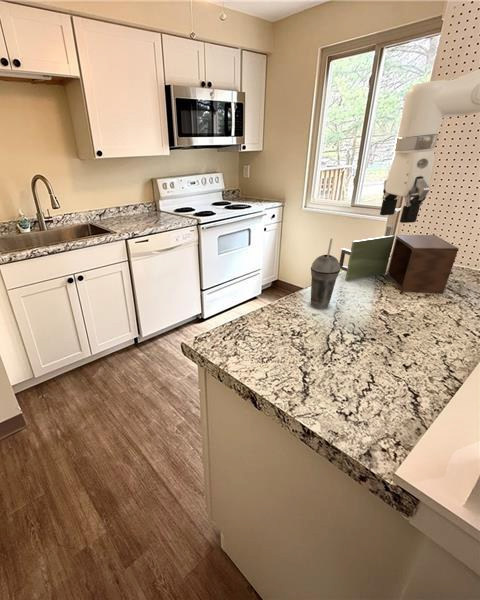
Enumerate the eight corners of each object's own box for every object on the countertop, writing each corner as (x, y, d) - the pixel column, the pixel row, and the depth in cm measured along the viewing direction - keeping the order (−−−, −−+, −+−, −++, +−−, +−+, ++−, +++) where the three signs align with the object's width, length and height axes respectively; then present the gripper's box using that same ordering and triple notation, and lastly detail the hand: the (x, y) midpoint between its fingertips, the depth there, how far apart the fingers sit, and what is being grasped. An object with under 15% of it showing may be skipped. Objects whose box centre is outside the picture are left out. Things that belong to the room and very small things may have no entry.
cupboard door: (334, 275, 110) (340, 237, 104) (371, 269, 112) (379, 232, 106) (346, 280, 105) (354, 241, 99) (385, 274, 107) (395, 235, 101)
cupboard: (401, 291, 94) (414, 248, 89) (386, 274, 107) (396, 235, 101) (443, 293, 91) (458, 248, 85) (422, 275, 103) (434, 234, 98)
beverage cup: (301, 307, 92) (310, 241, 83) (311, 298, 96) (320, 235, 88) (327, 314, 87) (340, 244, 78) (337, 304, 91) (349, 237, 82)
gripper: (460, 142, 64) (435, 224, 71) (411, 143, 79) (394, 211, 87) (418, 146, 66) (398, 226, 73) (378, 146, 81) (365, 213, 88)
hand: (396, 218), depth 80 cm, fingers open, 9 cm apart
